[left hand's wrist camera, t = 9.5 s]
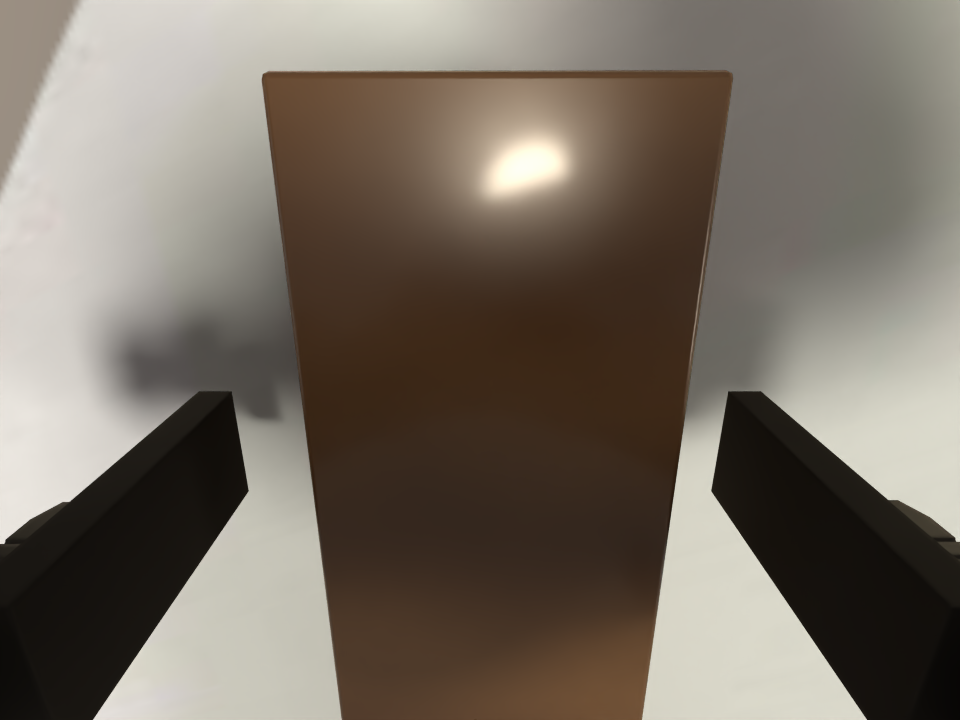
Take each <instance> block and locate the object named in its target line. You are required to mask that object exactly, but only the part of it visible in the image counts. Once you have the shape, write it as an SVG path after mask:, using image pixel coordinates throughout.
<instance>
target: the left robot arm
mask: <svg viewBox="0 0 960 720" xmlns="http://www.w3.org/2000/svg"><path fill="white" fill-rule="evenodd" d="M248 491H249V490H248V484H247V479H246V473H245V467H244V461H243V455H242V449H241V444H240V438H239V432H238V426H237V420H236V414H235V408H234V403H233V397H232V391H199V392H198V393H197V394H196V395H194V396H193V397H192V398H191V399H190V400H189V401H187V402H186V403H185V404H184V405H183V406H182V407H180V408H179V409H178V410H177V411H176V412H174V413H173V414H172V415H171V416H170V417H169V418H167V419H166V420H165V421H164V422H163V423H162V424H160V425H159V426H158V427H157V428H156V429H155V430H153V431H152V432H151V433H150V434H149V435H148V436H146V437H145V438H144V439H143V440H142V441H141V442H139V443H138V444H137V445H136V446H135V447H133V448H132V449H131V450H130V451H129V452H128V453H126V454H125V455H124V456H123V457H122V458H121V459H119V460H118V461H117V462H116V463H115V464H114V465H112V466H111V467H110V468H109V469H108V470H107V471H105V472H104V473H103V474H102V475H101V476H100V477H98V478H97V479H96V480H95V481H94V482H92V483H91V484H90V485H89V486H88V487H87V488H85V489H84V490H83V491H82V492H81V493H80V494H78V495H77V496H76V497H75V498H74V499H73V500H71V501H70V502H62V503H60V504H58V505H57V506H55V507H53V508H51V509H49V510H47V511H45V512H43V513H42V514H40V515H38V516H36V517H34V518H32V519H30V520H29V521H28V522H27V523H26V524H24V525H23V526H22V527H21V528H19V529H18V530H17V531H16V532H15V533H13V534H12V535H11V536H10V537H8V538H7V539H6V540H5V541H6V542H5V544H0V720H93V719H94V717H95V716H96V714H97V713H98V711H99V710H100V709H101V707H102V706H103V704H104V703H105V701H106V700H107V698H108V697H109V695H110V694H111V692H112V691H113V689H114V688H115V687H116V685H117V684H118V682H119V681H120V679H121V678H122V676H123V675H124V673H125V672H126V670H127V669H128V667H129V666H130V664H131V663H132V662H133V660H134V659H135V657H136V656H137V654H138V653H139V651H140V650H141V648H142V647H143V645H144V644H145V642H146V641H147V640H148V638H149V637H150V635H151V634H152V632H153V631H154V629H155V628H156V626H157V625H158V623H159V622H160V620H161V619H162V618H163V616H164V615H165V613H166V612H167V610H168V609H169V607H170V606H171V604H172V603H173V601H174V600H175V598H176V597H177V596H178V594H179V593H180V591H181V590H182V588H183V587H184V585H185V584H186V582H187V581H188V579H189V578H190V576H191V575H192V574H193V572H194V571H195V569H196V568H197V566H198V565H199V563H200V562H201V560H202V559H203V557H204V556H205V554H206V553H207V552H208V550H209V549H210V547H211V546H212V544H213V543H214V541H215V540H216V538H217V537H218V535H219V534H220V532H221V531H222V530H223V528H224V527H225V525H226V524H227V522H228V521H229V519H230V518H231V516H232V515H233V513H234V512H235V510H236V509H237V507H238V506H239V505H240V503H241V502H242V500H243V499H244V497H245V496H246V494H247V493H248ZM711 491H712V493H713V494H714V496H715V497H716V499H717V500H718V502H719V503H720V505H721V506H722V508H723V509H724V510H725V512H726V513H727V515H728V516H729V518H730V519H731V521H732V522H733V524H734V525H735V527H736V528H737V530H738V531H739V532H740V534H741V535H742V537H743V538H744V540H745V541H746V543H747V544H748V546H749V547H750V549H751V550H752V552H753V553H754V554H755V556H756V557H757V559H758V560H759V562H760V563H761V565H762V566H763V568H764V569H765V571H766V572H767V574H768V575H769V576H770V578H771V579H772V581H773V582H774V584H775V585H776V587H777V588H778V590H779V591H780V593H781V594H782V596H783V597H784V598H785V600H786V601H787V603H788V604H789V606H790V607H791V609H792V610H793V612H794V613H795V615H796V616H797V618H798V619H799V620H800V622H801V623H802V625H803V626H804V628H805V629H806V631H807V632H808V634H809V635H810V637H811V638H812V640H813V641H814V643H815V644H816V645H817V647H818V648H819V650H820V651H821V653H822V654H823V656H824V657H825V659H826V660H827V662H828V663H829V665H830V666H831V667H832V669H833V670H834V672H835V673H836V675H837V676H838V678H839V679H840V681H841V682H842V684H843V685H844V687H845V688H846V689H847V691H848V692H849V694H850V695H851V697H852V698H853V700H854V701H855V703H856V704H857V706H858V707H859V709H860V710H861V711H862V713H863V714H864V716H865V717H866V719H867V720H960V542H956V540H955V537H954V536H952V535H951V534H950V533H949V532H947V531H946V530H945V529H944V528H943V527H941V526H940V525H939V524H938V523H936V522H935V521H934V520H933V519H931V518H930V517H928V516H926V515H925V514H923V513H921V512H919V511H917V510H915V509H913V508H911V507H910V506H908V505H906V504H904V503H902V502H900V501H898V500H887V499H886V498H885V497H884V496H883V495H882V494H880V493H879V492H878V491H877V490H876V489H875V488H873V487H872V486H871V485H870V484H869V483H868V482H866V481H865V480H864V479H863V478H862V477H860V476H859V475H858V474H857V473H856V472H855V471H853V470H852V469H851V468H850V467H849V466H848V465H846V464H845V463H844V462H843V461H842V460H841V459H839V458H838V457H837V456H836V455H835V454H834V453H832V452H831V451H830V450H829V449H828V448H827V447H825V446H824V445H823V444H822V443H821V442H819V441H818V440H817V439H816V438H815V437H814V436H812V435H811V434H810V433H809V432H808V431H807V430H805V429H804V428H803V427H802V426H801V425H800V424H798V423H797V422H796V421H795V420H794V419H793V418H791V417H790V416H789V415H788V414H787V413H786V412H784V411H783V410H782V409H781V408H780V407H778V406H777V405H776V404H775V403H774V402H773V401H771V400H770V399H769V398H768V397H767V396H766V395H764V394H763V393H762V392H761V391H728V397H727V403H726V408H725V414H724V420H723V426H722V432H721V438H720V443H719V449H718V455H717V461H716V467H715V473H714V478H713V484H712V490H711Z"/></svg>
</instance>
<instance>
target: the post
mask: <svg viewBox="0 0 960 720" xmlns="http://www.w3.org/2000/svg"><path fill="white" fill-rule="evenodd" d="M732 82H733V76H732V73H730V72H728V71H726V70H605V71H268V72H266V73H264V74H263V76H262V86H263V94H264V102H265V110H266V118H267V126H268V134H269V142H270V150H271V158H272V166H273V174H274V182H275V190H276V198H277V206H278V214H279V222H280V230H281V238H282V246H283V254H284V262H285V270H286V278H287V286H288V294H289V302H290V310H291V318H292V326H293V334H294V342H295V350H296V358H297V366H298V374H299V382H300V390H301V398H302V406H303V414H304V422H305V430H306V438H307V446H308V454H309V462H310V470H311V478H312V486H313V494H314V502H315V510H316V517H317V525H318V533H319V541H320V549H321V557H322V565H323V573H324V581H325V589H326V597H327V605H328V613H329V621H330V629H331V637H332V645H333V653H334V661H335V669H336V677H337V685H338V693H339V701H340V709H341V717H342V720H642V715H643V708H644V701H645V694H646V687H647V680H648V673H649V666H650V659H651V652H652V645H653V638H654V631H655V624H656V617H657V609H658V602H659V595H660V588H661V581H662V574H663V567H664V560H665V553H666V546H667V539H668V532H669V525H670V518H671V511H672V504H673V497H674V490H675V483H676V476H677V469H678V462H679V455H680V448H681V441H682V434H683V426H684V419H685V412H686V405H687V398H688V391H689V384H690V377H691V370H692V363H693V356H694V349H695V342H696V335H697V328H698V321H699V314H700V307H701V300H702V293H703V286H704V279H705V272H706V265H707V258H708V251H709V243H710V236H711V229H712V222H713V215H714V208H715V201H716V194H717V187H718V180H719V173H720V166H721V159H722V152H723V145H724V138H725V131H726V124H727V117H728V110H729V103H730V96H731V89H732Z"/></svg>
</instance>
